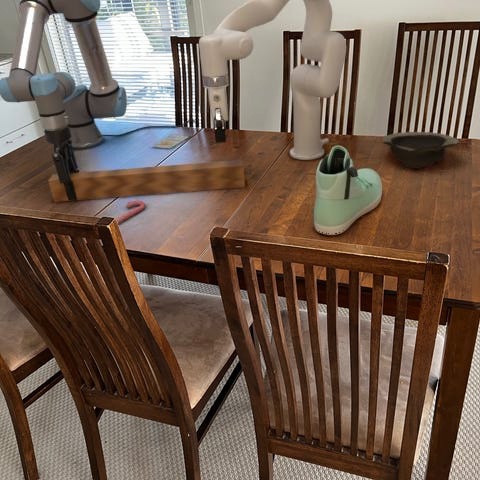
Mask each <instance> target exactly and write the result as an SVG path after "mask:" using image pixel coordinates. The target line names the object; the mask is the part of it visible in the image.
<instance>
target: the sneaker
mask: <svg viewBox="0 0 480 480" xmlns="http://www.w3.org/2000/svg"><path fill="white" fill-rule="evenodd" d="M317 165H318V166H317V168H316V172H315V201H314V207H313V225H314V229H315V231H316V232H318V233H320V234H323V235H326V236H327V235H328V236H336V235H339V234H342V233H344V232H345V231H347V230H348V229H349V228H350V227H351V226H352V225H353V224H354V222H356V221H357V220H358V219H359V218H360V217H362V216H363V215H365V214H367V213H370V212H372V210H374V209H375V208H377V207H378V205H380V203H381V200H382V196H383V184H382V183H383V182H382V179H381V176H380V175H379V173H378V172H377V171H376V170H374V169H372V168H367V167H365V168H358V169H357V168H355V167H354V161H353V159H352V158H351V156H350V153H349V152H348V150H347V148H345V147H344V146H342V145H334V146H333V147H331V149H330V151H329V154H327V155H326V156H325V157H324V158H322V159H321V160H320V161H319V163H318V164H317ZM343 230H344V231H343ZM319 231H320V232H319ZM322 232H323V233H322ZM339 232H340V233H339ZM326 233H327V234H326ZM328 233H329V234H328ZM335 233H337V234H335Z"/></svg>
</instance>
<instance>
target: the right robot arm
mask: <svg viewBox="0 0 480 480" xmlns="http://www.w3.org/2000/svg"><path fill="white" fill-rule="evenodd" d="M302 1H303V3H304V6H305V19H304V20H305V21H304V26H303V32H302V35H301V41H300V54H301V56H302V57H303V58H304V59H306V60H308V61H313V62H320V66H319V65H315V64H308V63H302V64H299V65H297V66H296V67H294V68H293V69H292V71H291V73H290V76H289V83H290V89H291V95H292V102H293V104H292V105H293V147H292V148H291V149H289V156H290V157H291V158H293V159H296V160H300V161H311V160H317V159H320V158H322V157H323V156H324V155H325V149H324V148H323V146H324V145H326V144H328V143H330V139H329V138H328V137H327V138H323V139H322V138H321V119H322V118H321V115H322V113H321V112H322V106H321V105H322V104H321V100H320V98H321V99H329V98H332V97H333V96H334V95H335V94H336V92H337V91H338V89H339V85H340V82H341V77H342V73H343V68H344V64H345V60H346V56H347V55H346V54H347V41H346V39H345V37H344V35H343V34H342V33H340V32H337V31H334V30H331V27H332V20H333V8H332V4H331V2H330V0H302ZM289 2H290V0H248V1H246V2H245V3H243V4H242V5H240V6H239V7H237V8H236V9H234V10H233V11H232V12H230V13H229V14H228V15H227V16H225V17H224V18H223V19H222V21H221V22H220V23H219V25H218V26H217V27H216V29H215V30H214V31H213V33H212V34H207V35H203V36H201V37H200V38H199V39H198V40H199V41H198V47H199V55H200V56H199V57H200V64H201V65H200V66H201V75H202V76H201V77H202V85H203V88H204V89H207V94H208V103H209V109H210V115H211V122H213V123H214V130H213V131H214V139H215V140H214V141H215V143H216V144H217V143H219V144H220V143H226V142H227V135H226V131H227V130H226V129H227V128H226V122H228V121H229V107H228V95H227V87H228V86H230V83H229V82H230V81H229V69H228V61H232V60H233V61H235V60H244V59H246V58H248V57H249V56H251V54H252V52H253V50H254V40H253V38H252V36H251V35H250V34H249V33H247V31H250V30H251V29H254V28H256V27H260V26H264V25H266V24H268V23H270V22H272V21H274V20H275V19H276V18H277V16H278V15H279V14H280V12H281V11H282V10H283V9H284V8H285V7H286V6H287V4H288V3H289Z"/></svg>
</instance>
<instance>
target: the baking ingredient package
mask: <svg viewBox="0 0 480 480" xmlns="http://www.w3.org/2000/svg"><path fill="white" fill-rule="evenodd" d="M188 138H189V136H186V135H178V134H177V135H176V134H171V135H169V136H167V137H165V138H163V139H162V140H160V141H158V142H157V143H155V144H153V145H152V147H154V148H162V149H171V148H173V147H175V146H177V145H178V144H180V143H182V142H184V141H185V140H186V139H188Z"/></svg>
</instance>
